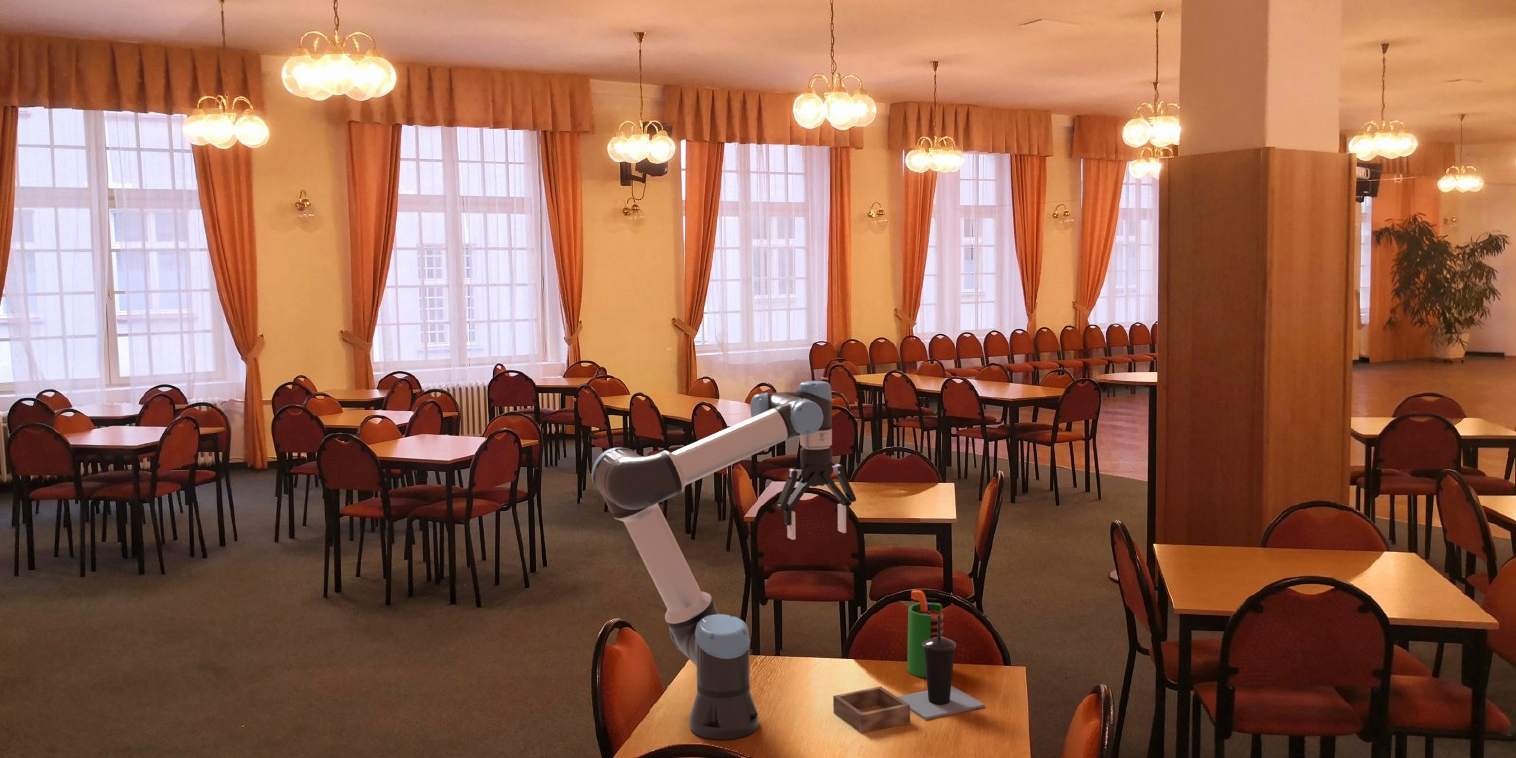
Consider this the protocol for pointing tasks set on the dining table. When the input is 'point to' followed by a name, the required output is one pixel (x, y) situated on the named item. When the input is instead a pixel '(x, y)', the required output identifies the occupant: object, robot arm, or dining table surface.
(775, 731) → the dining table surface
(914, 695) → the slate mat
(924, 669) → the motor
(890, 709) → the walnut collar
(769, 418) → the robot arm
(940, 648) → the drinking cup
